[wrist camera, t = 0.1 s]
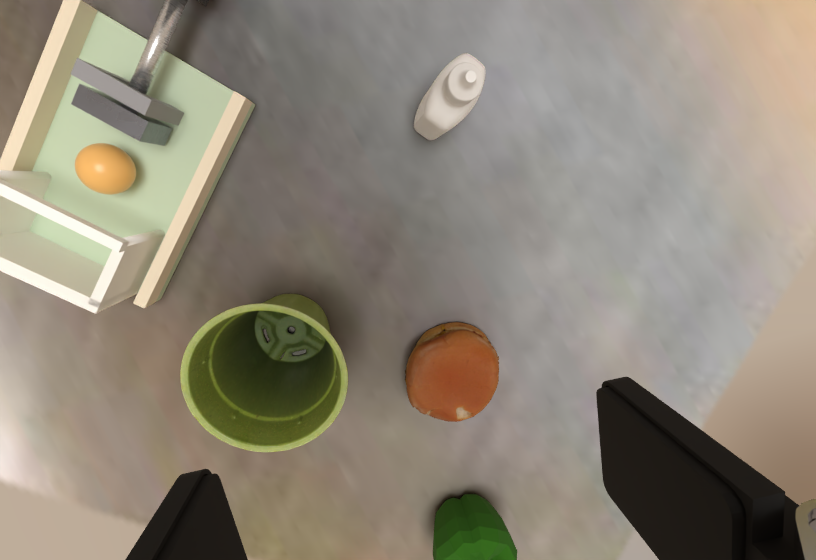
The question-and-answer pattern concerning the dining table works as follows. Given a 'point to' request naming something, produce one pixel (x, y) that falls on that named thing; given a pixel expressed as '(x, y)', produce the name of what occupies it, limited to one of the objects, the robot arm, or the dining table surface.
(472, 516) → the bell pepper
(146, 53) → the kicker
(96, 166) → the ball
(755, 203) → the dining table surface
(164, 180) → the pitch
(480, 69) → the eye dropper bottle
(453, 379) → the burger
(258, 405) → the plant pot
